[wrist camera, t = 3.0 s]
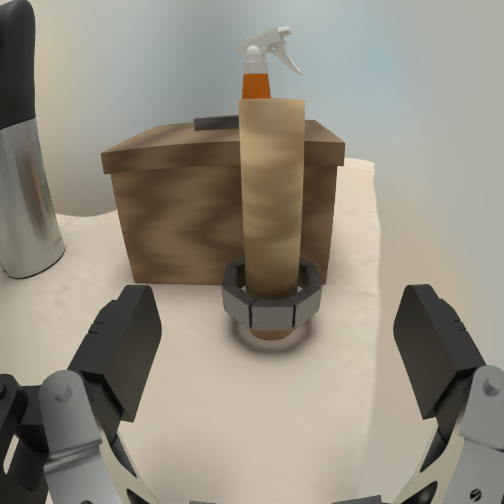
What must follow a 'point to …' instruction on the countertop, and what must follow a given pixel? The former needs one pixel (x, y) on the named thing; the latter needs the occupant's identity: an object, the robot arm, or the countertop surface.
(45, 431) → the robot arm
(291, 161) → the tan wooden cylinder
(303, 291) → the hasp
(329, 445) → the countertop surface
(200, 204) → the toolbox
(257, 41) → the spray bottle
